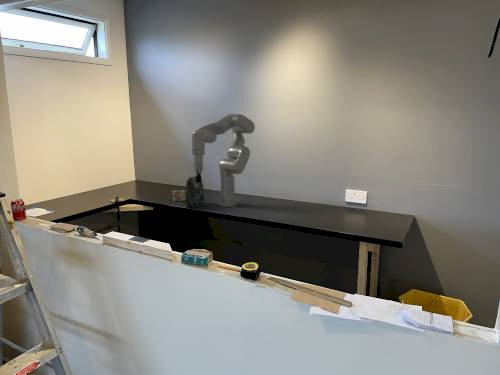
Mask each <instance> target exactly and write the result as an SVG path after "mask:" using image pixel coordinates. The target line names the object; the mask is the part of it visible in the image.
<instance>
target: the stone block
mask: <svg viewBox="0 0 500 375" xmlns="http://www.w3.org/2000/svg"><path fill="white" fill-rule="evenodd" d="M185 190H186V197H185V201H184V202H185V205H186V206H185V207H186V209H193V208H195V209H196V208H199V207H200V206H202V205H203V204H204V199H205V189H204V184H203V180H202V179H201V182H198V183H197V182H196V175H194V176H189V177H188V178H187V179H186V183H185Z"/></svg>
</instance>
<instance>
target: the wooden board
mask: <svg viewBox="0 0 500 375" xmlns="http://www.w3.org/2000/svg"><path fill="white" fill-rule="evenodd" d="M185 197H186V189H185V190H183V189H182V190H172V202H182V201H184V202H185Z"/></svg>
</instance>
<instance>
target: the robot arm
mask: <svg viewBox="0 0 500 375" xmlns="http://www.w3.org/2000/svg"><path fill="white" fill-rule="evenodd" d="M255 129H256V126H255V123H254V121H252V120H251V119H249V118H248V117H247V116H245V115H243V114H240V113H238V114H237V113H236V114H235V113H230V114H227V115H225V116H224V117H222V118H220V119H219V120H218V121H214V122H212V123H209V124H206V125H203V126H202V127H199V128H198V129H197V130H195V131H192V133H191V155H193V168H192V169H193V171H194V172H195V176H196V182H197V183H198V182H201V180H202V172H203V170H204V169H203V168H204V155H206V147H205V146H206V144H213V143H215V141H216V140H217V136H218V135H223V134H225V133H227V132H228V131H230V130H231V132H232V135H233V136H232V137H233V138H232V140H231V143H230V145H229V147H228V150H227V152H226V155H227V158H226V157H225V158H222V159H221V160H220V161H219V163H218V169H219V176H220V200H219V202H218V203H217V204H218V206H220V207H226V208H227V207H235V206H237V205H238V204H237V202H238V203H239V202H240V203H241V202H242V198H236V197H235V191H236V190H235V185H236V184H235V181H236V180H235V176H234V175H241V174H242V173H243V172H244V170H245V168H246V167H247V166H246V165H247V163H248V161H249V159H250V155H251V150H250V148H249V147H248V146H246V145H245V142H246V140H245V137H244V134H247V135H248V134H249V135H250V134H252V133H254V131H255Z"/></svg>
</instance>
